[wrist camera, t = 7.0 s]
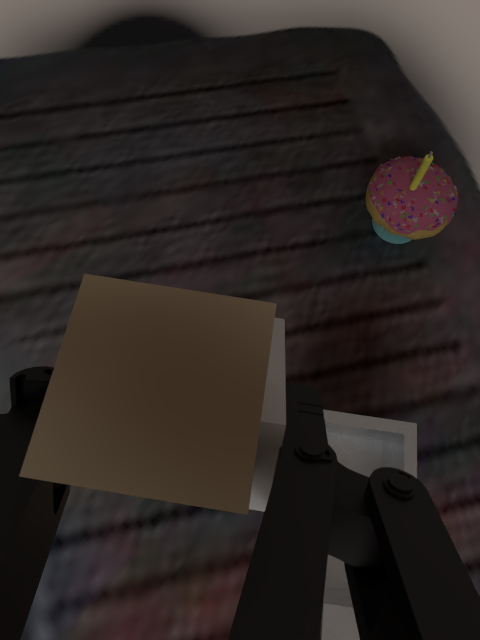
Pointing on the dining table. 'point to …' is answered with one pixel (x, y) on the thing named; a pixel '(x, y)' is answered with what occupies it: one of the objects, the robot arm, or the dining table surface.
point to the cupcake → (410, 199)
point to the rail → (156, 395)
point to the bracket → (364, 457)
